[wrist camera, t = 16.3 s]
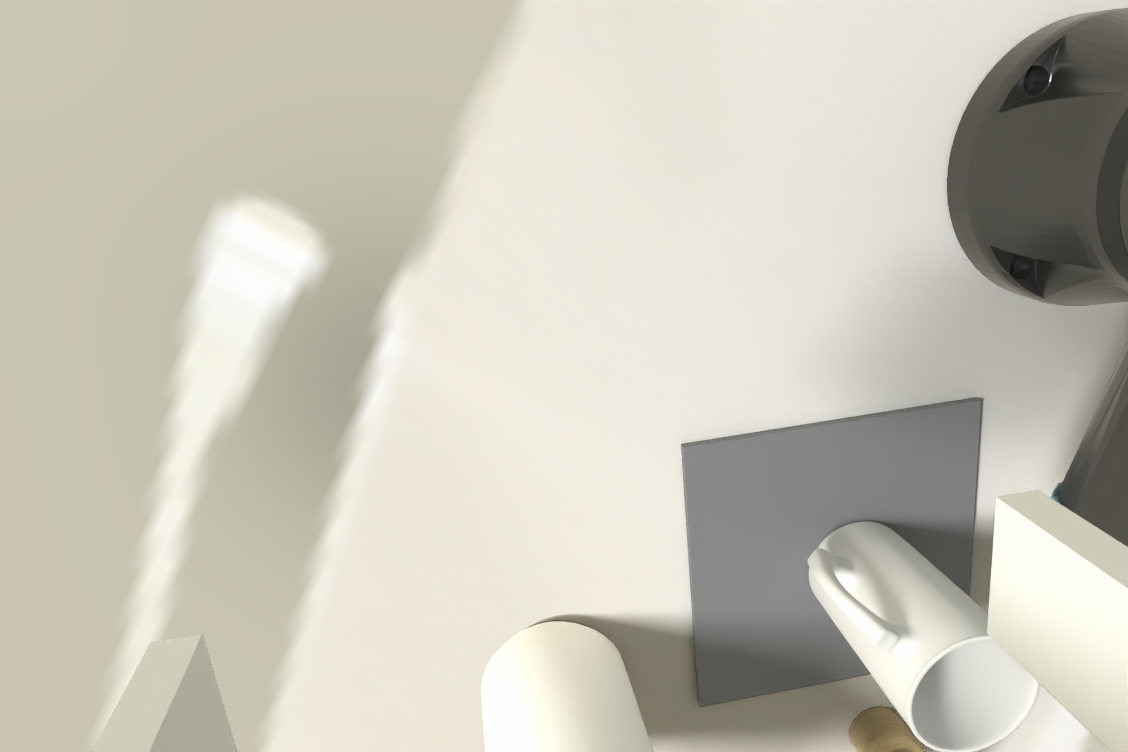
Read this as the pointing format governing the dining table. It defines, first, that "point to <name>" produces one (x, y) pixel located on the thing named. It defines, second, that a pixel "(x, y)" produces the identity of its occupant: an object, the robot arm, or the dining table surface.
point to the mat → (813, 534)
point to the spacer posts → (881, 732)
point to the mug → (920, 639)
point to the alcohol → (560, 694)
